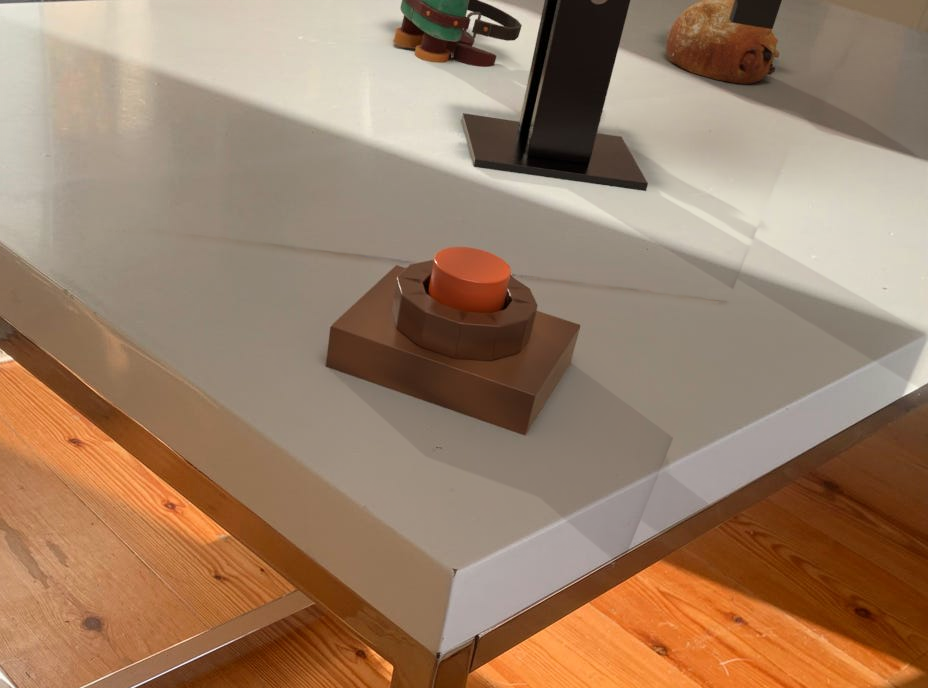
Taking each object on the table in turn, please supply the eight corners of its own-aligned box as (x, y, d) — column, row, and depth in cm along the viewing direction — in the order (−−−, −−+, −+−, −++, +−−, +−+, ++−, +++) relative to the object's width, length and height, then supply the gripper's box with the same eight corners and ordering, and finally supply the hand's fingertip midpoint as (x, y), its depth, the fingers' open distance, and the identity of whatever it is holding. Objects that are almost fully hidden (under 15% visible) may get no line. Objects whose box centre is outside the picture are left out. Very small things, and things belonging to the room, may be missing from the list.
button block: (570, 363, 57) (590, 291, 54) (525, 436, 51) (544, 359, 48) (390, 303, 59) (401, 231, 56) (325, 367, 53) (334, 289, 50)
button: (513, 295, 54) (521, 261, 53) (489, 325, 51) (497, 289, 50) (443, 273, 54) (449, 239, 53) (416, 301, 51) (422, 265, 50)
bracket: (617, 152, 84) (671, -51, 75) (643, 200, 77) (706, -17, 68) (459, 129, 82) (496, -83, 73) (471, 176, 75) (514, -51, 66)
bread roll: (697, 86, 115) (689, 1, 112) (796, 71, 109) (790, -20, 106) (654, 102, 108) (644, 11, 105) (756, 86, 102) (749, -11, 99)
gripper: (757, -463, 66) (649, -34, 80) (879, -485, 51) (720, 43, 66) (875, -435, 67) (748, -18, 82) (1026, -449, 53) (839, 62, 67)
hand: (736, 9), depth 74 cm, fingers closed on lever, 6 cm apart
